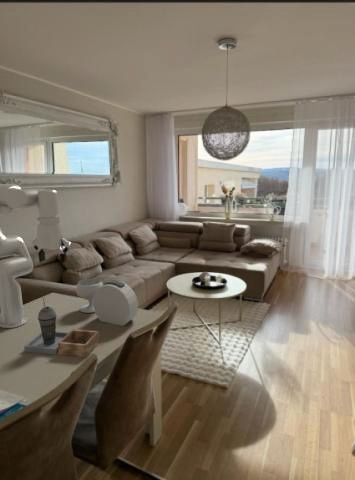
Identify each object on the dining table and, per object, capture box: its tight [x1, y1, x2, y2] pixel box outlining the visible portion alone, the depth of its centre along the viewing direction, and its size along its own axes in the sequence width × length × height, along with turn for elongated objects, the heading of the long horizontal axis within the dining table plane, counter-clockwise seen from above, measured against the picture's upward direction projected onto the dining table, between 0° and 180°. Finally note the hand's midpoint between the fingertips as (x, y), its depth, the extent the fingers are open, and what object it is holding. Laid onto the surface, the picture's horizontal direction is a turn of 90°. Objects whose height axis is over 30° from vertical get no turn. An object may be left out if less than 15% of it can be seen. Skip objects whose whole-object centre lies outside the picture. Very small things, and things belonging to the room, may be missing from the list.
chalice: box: [75, 278, 104, 314], centre depth 175 cm, size 14×14×15 cm
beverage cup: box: [37, 296, 58, 345], centre depth 138 cm, size 7×7×20 cm
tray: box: [23, 331, 70, 355], centre depth 140 cm, size 14×14×2 cm
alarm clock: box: [93, 279, 139, 327], centre depth 161 cm, size 21×8×20 cm, turn 65°
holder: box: [58, 329, 101, 358], centre depth 136 cm, size 12×12×5 cm
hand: (52, 261), depth 137 cm, fingers open, 9 cm apart
